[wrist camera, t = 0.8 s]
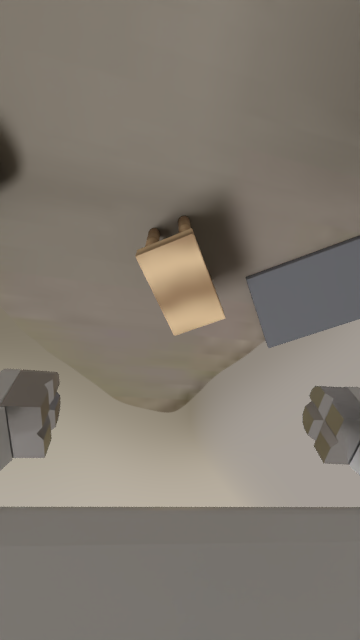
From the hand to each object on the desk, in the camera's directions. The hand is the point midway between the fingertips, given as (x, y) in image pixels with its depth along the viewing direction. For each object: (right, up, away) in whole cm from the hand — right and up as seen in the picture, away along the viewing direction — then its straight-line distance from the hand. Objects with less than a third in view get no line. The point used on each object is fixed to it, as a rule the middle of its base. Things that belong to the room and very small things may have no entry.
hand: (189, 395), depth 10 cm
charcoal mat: (+19, +6, +35) cm, 40 cm away
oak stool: (0, +11, +32) cm, 34 cm away
